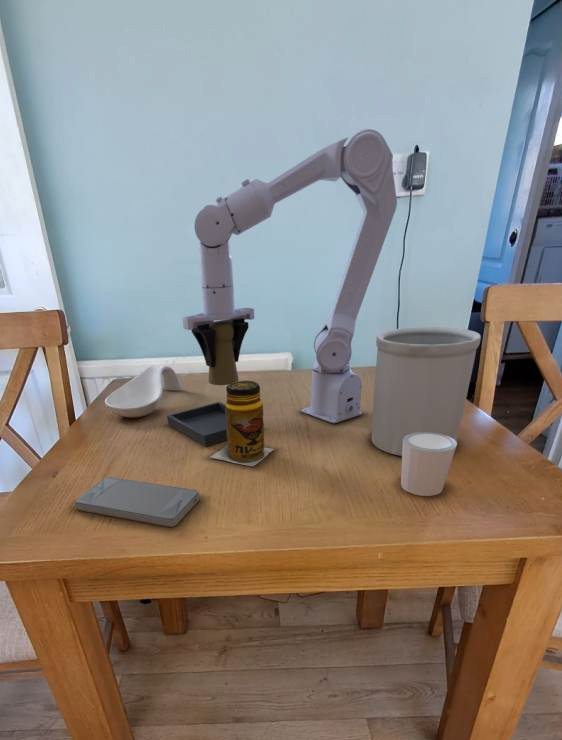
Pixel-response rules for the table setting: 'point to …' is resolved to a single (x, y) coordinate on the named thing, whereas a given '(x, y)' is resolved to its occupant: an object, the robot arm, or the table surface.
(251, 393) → the condiment
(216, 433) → the slate tray
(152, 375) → the spoon rest
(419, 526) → the table surface
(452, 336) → the utensil holder
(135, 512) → the phone
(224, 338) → the pepper mill
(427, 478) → the white cup
